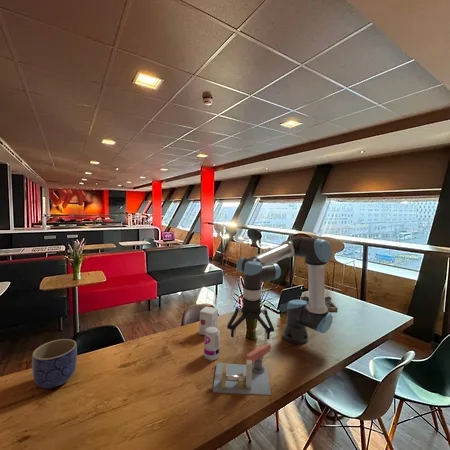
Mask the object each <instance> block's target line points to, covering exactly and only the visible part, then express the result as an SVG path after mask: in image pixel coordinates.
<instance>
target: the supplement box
mask: <svg viewBox="0 0 450 450" xmlns="http://www.w3.org/2000/svg"><path fill="white" fill-rule="evenodd" d="M218 314H219V308H217V307H210V306H205V307H203V308H202V309H200V311H199V331H198V332H199V333H198V334H199V335H202V336H204V333H205V330H206V328H207V327H210V326H214V327H217V328H218V316H219V315H218Z"/></svg>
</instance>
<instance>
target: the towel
mask: <svg viewBox="0 0 450 450" xmlns="http://www.w3.org/2000/svg"><path fill="white" fill-rule="evenodd" d="M303 297H305V298H304V299H305V300H304V301H306V302H307V305H308V304H309V294H305V295H303ZM331 302H332V297H331V296H329V295H325V306H326V307H329V306H330V304H331Z"/></svg>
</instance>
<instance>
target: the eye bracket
mask: <svg viewBox="0 0 450 450" xmlns="http://www.w3.org/2000/svg"><path fill="white" fill-rule="evenodd" d="M226 364H227V363H226ZM226 364H223V368H222V389H223V390H225V385H226ZM239 376H243V373H239ZM238 390H243V379H239V382H238Z"/></svg>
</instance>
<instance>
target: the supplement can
mask: <svg viewBox="0 0 450 450" xmlns="http://www.w3.org/2000/svg"><path fill="white" fill-rule="evenodd" d="M220 331H221V330H220V328H218V326H217V327H214V326H210V327H207V328H206V330H205V333H204V335H203V337H204V339H203V340H204V342H203V357H204V359H206V360H207V361H216V360H217V359H218V358H219V357H220V341H221V340H220V339H221V338H220V337H221V332H220Z"/></svg>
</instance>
